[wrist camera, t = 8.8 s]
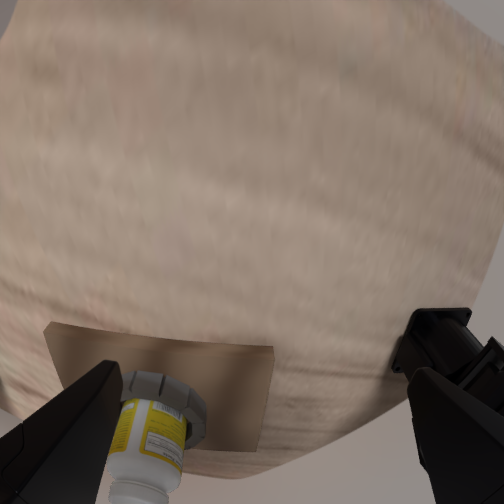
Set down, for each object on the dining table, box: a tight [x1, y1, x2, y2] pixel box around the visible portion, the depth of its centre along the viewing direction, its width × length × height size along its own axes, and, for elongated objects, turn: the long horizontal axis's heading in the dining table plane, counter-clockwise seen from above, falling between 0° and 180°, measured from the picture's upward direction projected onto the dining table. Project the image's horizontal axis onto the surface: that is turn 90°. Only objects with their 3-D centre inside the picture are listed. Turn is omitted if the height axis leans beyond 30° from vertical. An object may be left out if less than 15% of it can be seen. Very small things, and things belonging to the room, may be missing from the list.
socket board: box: [43, 322, 275, 452], centre depth 23 cm, size 18×13×4 cm
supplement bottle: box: [107, 398, 187, 504], centre depth 19 cm, size 5×5×10 cm
